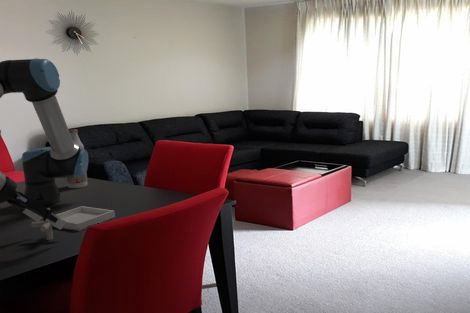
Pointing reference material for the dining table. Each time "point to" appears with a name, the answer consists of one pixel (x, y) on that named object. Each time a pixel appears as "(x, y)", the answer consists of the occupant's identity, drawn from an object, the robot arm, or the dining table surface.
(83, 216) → the tray
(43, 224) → the pipe connector
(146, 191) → the dining table surface
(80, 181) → the fruit juice
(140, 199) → the dining table surface
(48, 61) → the robot arm
